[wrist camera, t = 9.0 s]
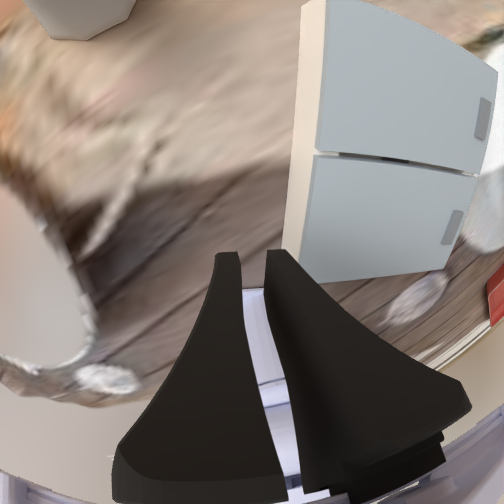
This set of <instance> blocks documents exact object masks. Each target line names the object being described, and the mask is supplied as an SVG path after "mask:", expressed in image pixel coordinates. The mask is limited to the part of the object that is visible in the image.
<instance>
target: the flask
mask: <svg viewBox="0 0 504 504" xmlns="http://www.w3.org/2000/svg"><path fill="white" fill-rule="evenodd" d="M23 1H24V2H25V4H26V5H27V6H28V7H29V9H30V10H31V11H32V13H33V14H34V15H35V16H36V18H37V19H38V20H39V22H40V23H41V25H42V26H43V28H44V29H45V31H46V32H47V34H48V35H49V36H50V37H51V39H69V40H85V41H86V40H88V39H90V38H92V37H93V36H95V35H97V34H99V33H101V32H103V31H105V30H107V29H109V28H111V27H113V26H115V25H117V24H119V23H121V22H123V21H125V20H127V19H128V17H129V15H130V13H131V10H132V8H133V6H134V4H135V2H136V0H23Z"/></svg>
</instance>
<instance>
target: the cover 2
mask: <svg viewBox="0 0 504 504" xmlns="http://www.w3.org/2000/svg"><path fill="white" fill-rule="evenodd" d="M477 182H478V179H477V178H475V177H474V176H470V175H466V174H461V173H457V172H452V171H447V170H441V169H436V168H430V167H425V166H419V165H412V164H406V163H399V162H391V161H383V160H375V159H366V158H355V157H344V156H331V155H315V154H314V155H313V163H312V171H311V179H310V186H309V194H308V201H307V208H306V214H305V221H304V227H303V234H302V240H301V246H300V252H299V258H298V263H299V264H300V265H301V267H302V268H303V269H304V270H305V271H306V272H307V273H308V274H309V275H310V276H311V277H312V278H313V279H314V281H315V282H316V283H317V284H319V283H329V282H339V281H349V280H358V279H367V278H376V277H384V276H392V275H400V274H408V273H415V272H423V271H430V270H437V269H443V268H444V266H445V264H446V262H447V260H448V258H449V256H450V254H451V251H452V249H453V247H454V245H455V242H456V240H457V238H458V235H459V233H460V230H461V228H462V225H463V223H464V220H465V217H466V215H467V212H468V209H469V207H470V204H471V201H472V198H473V195H474V192H475V189H476V186H477Z"/></svg>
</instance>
